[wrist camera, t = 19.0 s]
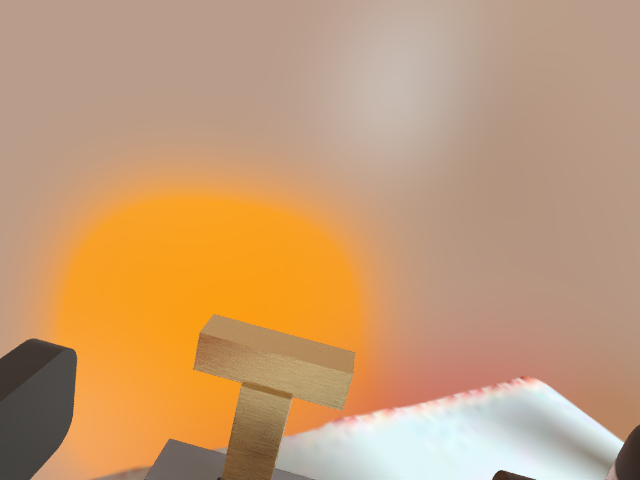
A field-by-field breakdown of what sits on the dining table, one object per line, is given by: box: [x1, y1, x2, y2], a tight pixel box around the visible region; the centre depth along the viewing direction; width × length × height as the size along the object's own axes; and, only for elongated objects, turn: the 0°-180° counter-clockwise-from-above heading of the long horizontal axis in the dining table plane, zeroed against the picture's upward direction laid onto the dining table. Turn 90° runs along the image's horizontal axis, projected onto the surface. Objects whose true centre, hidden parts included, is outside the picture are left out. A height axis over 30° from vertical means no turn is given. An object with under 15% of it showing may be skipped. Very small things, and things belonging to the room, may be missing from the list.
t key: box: [194, 314, 355, 480], centre depth 30 cm, size 9×3×18 cm, turn 83°
